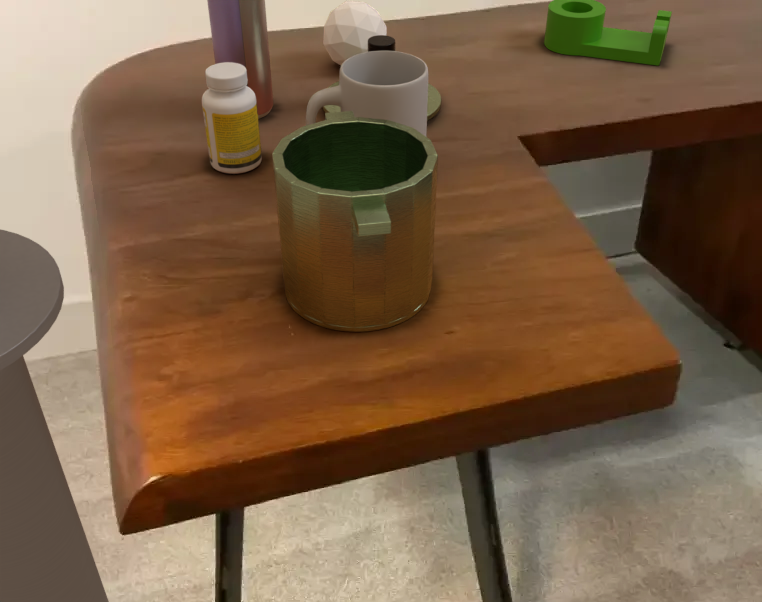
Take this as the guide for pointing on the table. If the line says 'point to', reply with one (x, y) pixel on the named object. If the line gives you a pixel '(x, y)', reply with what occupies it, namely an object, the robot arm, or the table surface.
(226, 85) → the supplement bottle
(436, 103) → the lid
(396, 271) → the pot
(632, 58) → the tape dispenser
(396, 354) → the table surface
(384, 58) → the mug
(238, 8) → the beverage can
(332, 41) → the geometric ball
